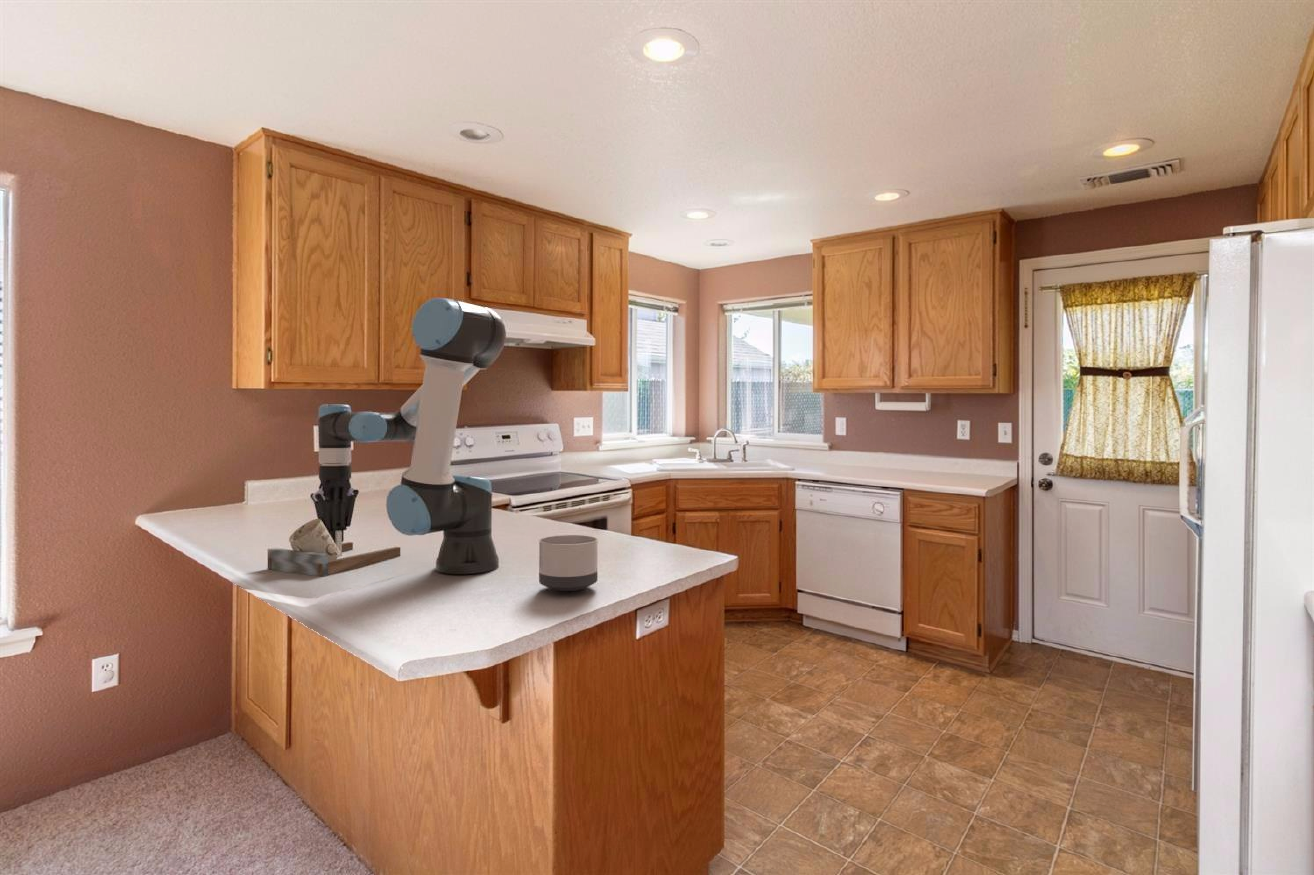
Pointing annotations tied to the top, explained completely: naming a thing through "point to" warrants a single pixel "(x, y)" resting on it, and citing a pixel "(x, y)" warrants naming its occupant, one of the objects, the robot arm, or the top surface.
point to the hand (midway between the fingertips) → (335, 555)
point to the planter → (568, 562)
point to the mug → (314, 539)
